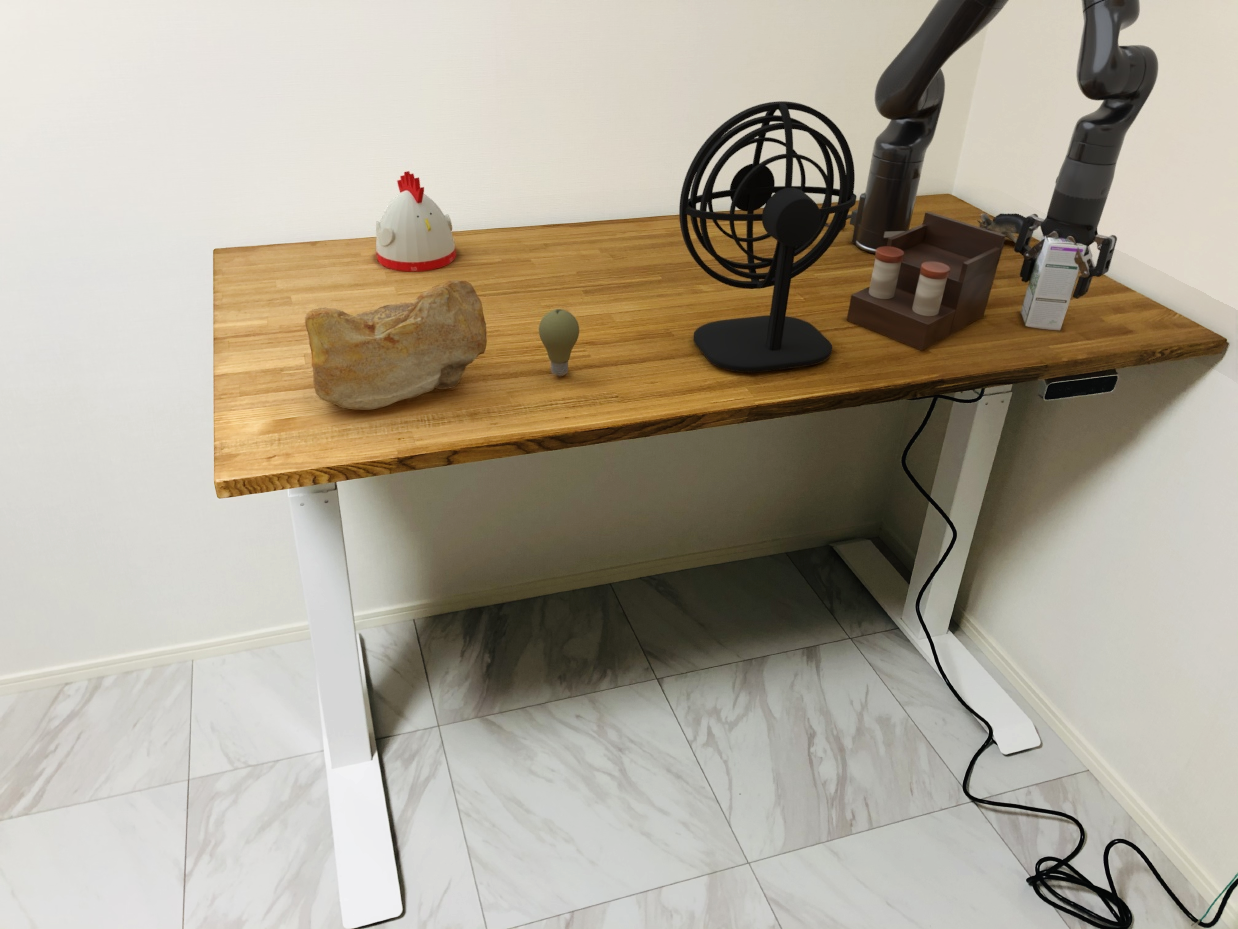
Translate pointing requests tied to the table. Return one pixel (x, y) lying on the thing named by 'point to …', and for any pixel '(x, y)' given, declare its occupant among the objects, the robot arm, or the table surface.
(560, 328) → the light bulb
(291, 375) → the table surface
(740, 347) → the desk fan
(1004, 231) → the squirrel figurine
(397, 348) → the rough brown rock
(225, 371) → the table surface
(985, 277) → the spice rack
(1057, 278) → the syrup box
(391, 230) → the kitchen timer
